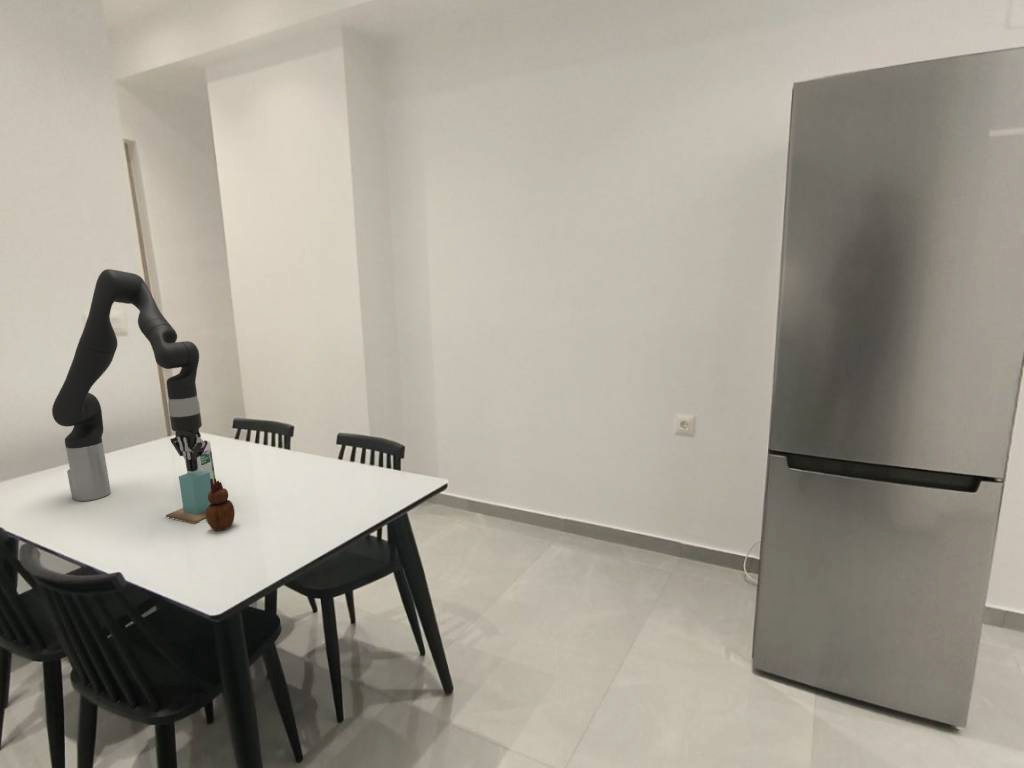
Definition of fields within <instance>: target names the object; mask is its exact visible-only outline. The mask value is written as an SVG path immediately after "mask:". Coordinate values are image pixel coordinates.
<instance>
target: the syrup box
mask: <svg viewBox="0 0 1024 768" xmlns="http://www.w3.org/2000/svg"><path fill="white" fill-rule="evenodd" d="M206 441H207V442H208V444H207V446H206V448H205V450H204V452H203V454H202V456H199V457H197V464H198V469H197V470H199V471H205V472H210V479H212V481H213V483H214V478H216V475H215V474H216V473H215V466H214V459H213V453H212V447H211V441H209V440H206ZM184 461H185V469H186V474H187V473H190V471H188V470H187V465H186V459H184Z"/></svg>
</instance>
